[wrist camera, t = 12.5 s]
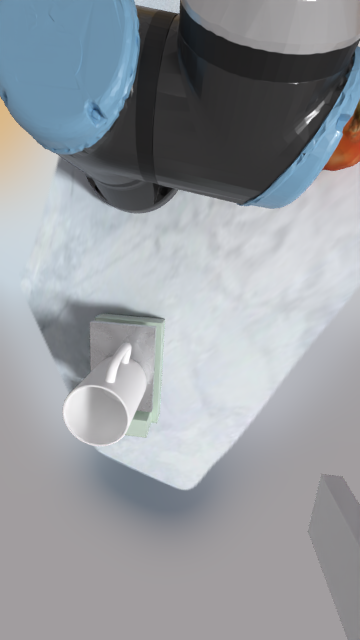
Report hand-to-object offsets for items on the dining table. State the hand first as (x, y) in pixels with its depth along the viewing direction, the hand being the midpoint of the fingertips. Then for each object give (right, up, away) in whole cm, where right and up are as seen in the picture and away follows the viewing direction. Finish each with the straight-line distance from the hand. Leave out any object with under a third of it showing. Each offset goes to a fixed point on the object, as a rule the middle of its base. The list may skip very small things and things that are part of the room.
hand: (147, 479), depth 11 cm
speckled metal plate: (-7, 0, +34) cm, 34 cm away
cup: (-7, -1, +31) cm, 32 cm away
